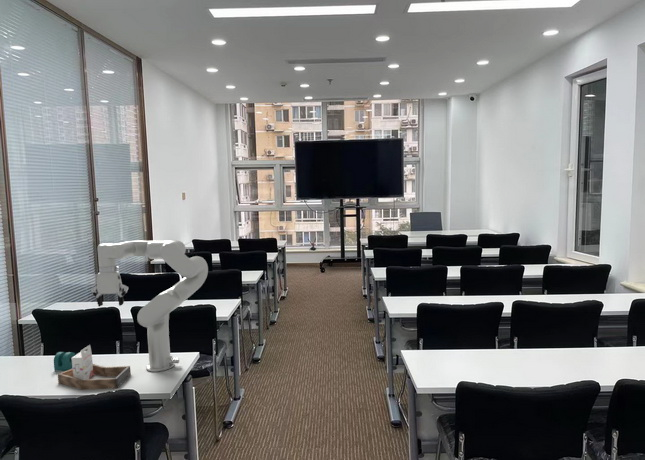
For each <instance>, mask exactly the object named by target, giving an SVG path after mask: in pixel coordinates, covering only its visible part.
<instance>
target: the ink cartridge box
mask: <svg viewBox="0 0 645 460" xmlns="http://www.w3.org/2000/svg"><path fill="white" fill-rule="evenodd" d="M71 359H72V369H73V377H75V378H79V379H83V380H85V379H92V377H93V376H95V374H93V354H92V347H91V344H89V345H87V346H86V347H84V348H83V349H81V350H80V352H78V353H76V355H75V356H74V357H72V358H71Z"/></svg>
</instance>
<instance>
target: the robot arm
mask: <svg viewBox="0 0 645 460" xmlns="http://www.w3.org/2000/svg"><path fill="white" fill-rule="evenodd" d="M186 248H187V247H186V246H185V244H184V243H183V241H180V240H128V241H123V242H118V243H112V242H108V243H107V242H105V243H100V244H98V246H97V258H98V271H99V272H98V273H97V277H96V279H97V280H96V283H97V284H96V285H94V287H91V288H90V291H91V293H92V295H93V296H94V297H95V298H96V303H97V305H98V307H101V306H103V305H104V303H103V295H113V294H116V295H117V296H118V306H120V307H121V306H122V305H123V304H124V303H125V302H124V300H125V299H124V296H125V295H126V294H127V293H128V290H129V286H127V285H126V284H123V282H122V278H121V275H120V274H121V273H120V271H119V270H120V268H121V267H120V266H118V265H117V260H124V259H127V258H131V257H147V258H148V259H150V260H162V261H164V262H165V263H166V264H167V265H168V266H169V267H171V269H173V270H174V271H175V272H176V273H178V275H180V276H181V277H183V278H181V279H180V280H179V281H178V282H176V283H175V284H174V285H172V287H171V286H170V288H168V289H166V290H163V291H162V292H160V293H159V294H158V295H156V296H155V297H153V298H152V299H151V300H149V302H147V303H146V304H145V305H144V306H143V307H141V308H140V310H139V311H138V313H137V316H136V317H137V319H136V320H137V323H138V324H139V325H140V326H142V327H144V328H146V329H147V334H146V335H147V346H148V347H147V348H148V361H149V363H148V364H147V365H146V366H145V367H146V370H147V371H148V372H152V373H154V372H155V373H157V372H163V371H167V370H170V369H171V368H173V367H174V366H175V364H179V363H180V358H179V357H173V354H171V347H170V345H171V344H170V336H169V335H170V331H169V330H170V329H169V320H170V313H171V312H173V311H174V310H175V309H177V308H178V307H180V306H181V305H182V303H184V302H185V301H186V300H187V299H188V298H190V297H191V296H192V295H194V293H196V291H198V290H199V289H200V288H201V287H202V286H203V284H205V282H206V279H207V277H208V273H209V266H208V263H207V261H206V259H204V257H202V256H198V255H195V256H192V257H189V256H187V255H186V251H187V250H186ZM96 290H97V291H96Z"/></svg>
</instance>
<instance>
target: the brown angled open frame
mask: <svg viewBox="0 0 645 460" xmlns="http://www.w3.org/2000/svg"><path fill="white" fill-rule="evenodd" d="M131 373H132V372H131V365H124V366H123V365H122V366H103V365H99V364H95V363H94V364H93V374H94V375H98V376H102V377H110V378H90V379H85V380H83V379H79V378H75V377H73V368H72V369H70V370H68V371H61V372H59V373H57V382H58V384H61V385H64V386H67V387H72V388H75V389H79V390H81V391H84V390H105V389H118V388H119V387H120V386H121V385H122V384H123V383H124V382H125V381H127V379H128V378H129V377H130V376H131ZM111 377H113V378H111Z"/></svg>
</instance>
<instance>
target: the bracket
mask: <svg viewBox="0 0 645 460" xmlns="http://www.w3.org/2000/svg"><path fill="white" fill-rule="evenodd" d="M75 355H77V353H75V352H74V351H73V352H72V351H71V352H70V351H68V352H66V351H58V352H56V354H55V355H54V356H53V357H54V358H53V367H54V370H55V371H56V372H58V371H59V372H60V371H61V372H65V371H68V370H70V369H73V368H72V359H71V358H72V357H74V356H75Z"/></svg>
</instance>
